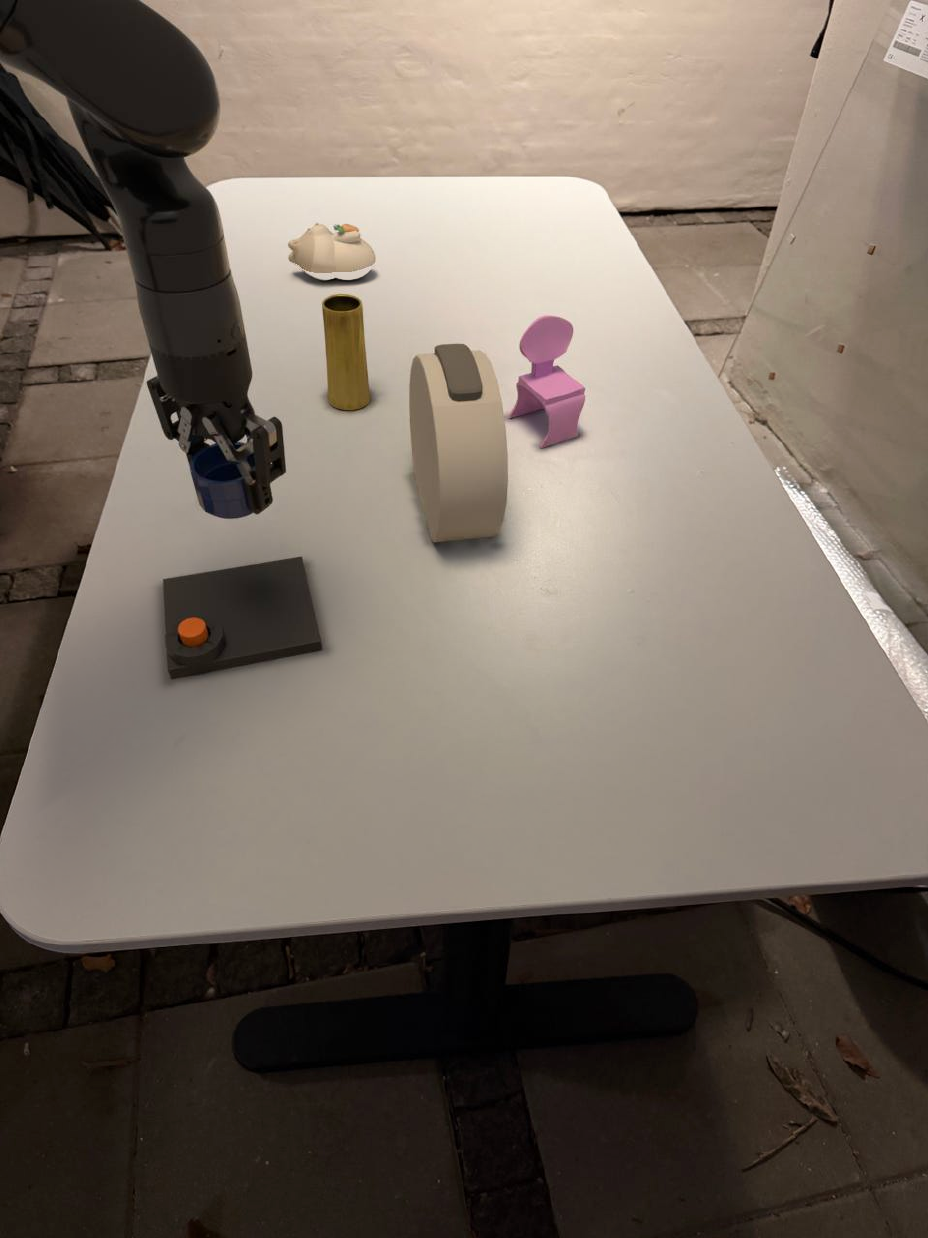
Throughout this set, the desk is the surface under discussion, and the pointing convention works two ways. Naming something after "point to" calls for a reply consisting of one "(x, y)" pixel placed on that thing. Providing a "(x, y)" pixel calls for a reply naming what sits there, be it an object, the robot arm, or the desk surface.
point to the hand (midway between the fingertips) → (233, 494)
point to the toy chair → (549, 379)
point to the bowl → (219, 483)
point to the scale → (240, 616)
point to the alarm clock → (458, 443)
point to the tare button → (193, 632)
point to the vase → (345, 352)
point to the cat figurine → (331, 250)
